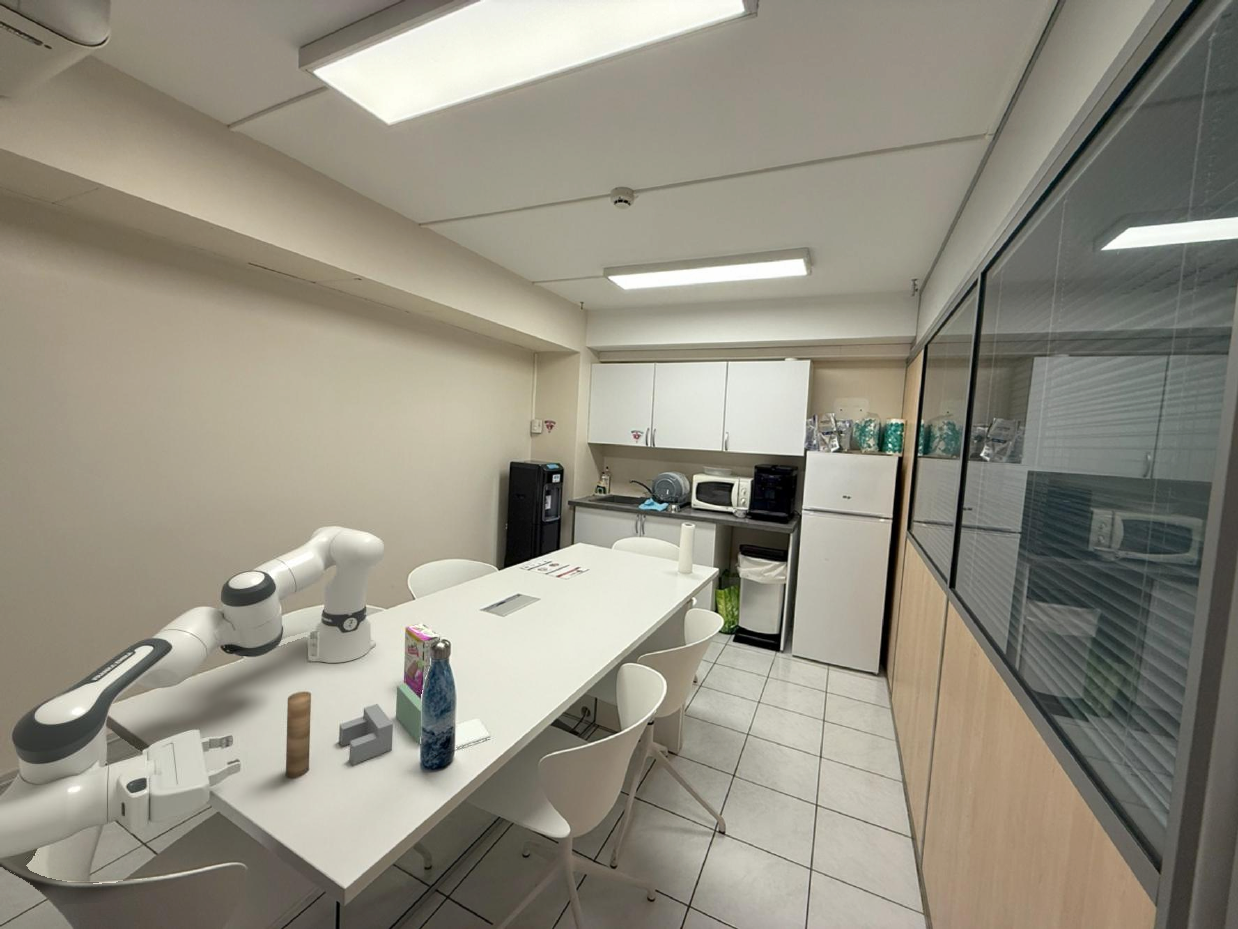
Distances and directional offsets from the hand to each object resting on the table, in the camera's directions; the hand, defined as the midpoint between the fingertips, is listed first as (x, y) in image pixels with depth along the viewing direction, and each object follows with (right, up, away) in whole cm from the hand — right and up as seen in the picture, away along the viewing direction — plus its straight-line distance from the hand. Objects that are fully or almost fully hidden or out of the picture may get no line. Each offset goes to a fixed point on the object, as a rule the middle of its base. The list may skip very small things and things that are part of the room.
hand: (236, 751), depth 92 cm
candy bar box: (+18, -7, +42) cm, 46 cm away
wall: (+23, -9, +24) cm, 35 cm away
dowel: (+6, -9, +8) cm, 13 cm away
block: (+16, -9, +17) cm, 25 cm away
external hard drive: (+35, -11, +22) cm, 43 cm away
